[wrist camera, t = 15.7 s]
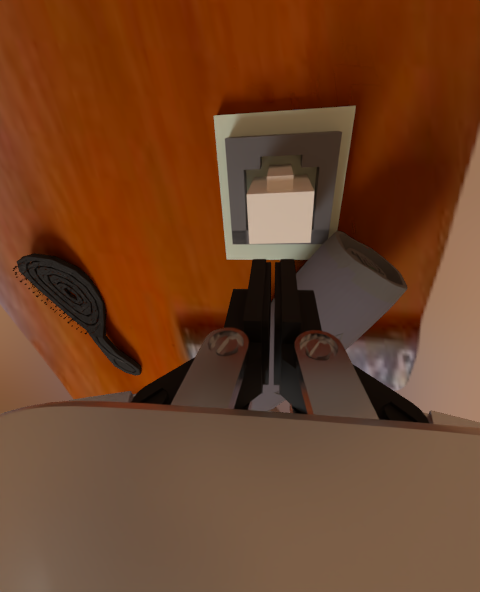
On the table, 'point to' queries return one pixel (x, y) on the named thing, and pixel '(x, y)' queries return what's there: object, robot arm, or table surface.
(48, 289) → the hairbrush
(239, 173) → the socket board
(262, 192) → the keyed plug
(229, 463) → the robot arm
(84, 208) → the table surface
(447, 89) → the table surface
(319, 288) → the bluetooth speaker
